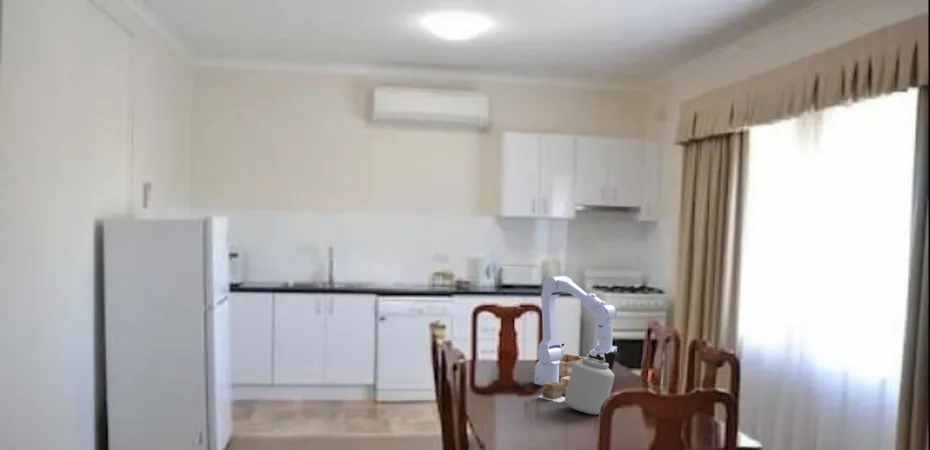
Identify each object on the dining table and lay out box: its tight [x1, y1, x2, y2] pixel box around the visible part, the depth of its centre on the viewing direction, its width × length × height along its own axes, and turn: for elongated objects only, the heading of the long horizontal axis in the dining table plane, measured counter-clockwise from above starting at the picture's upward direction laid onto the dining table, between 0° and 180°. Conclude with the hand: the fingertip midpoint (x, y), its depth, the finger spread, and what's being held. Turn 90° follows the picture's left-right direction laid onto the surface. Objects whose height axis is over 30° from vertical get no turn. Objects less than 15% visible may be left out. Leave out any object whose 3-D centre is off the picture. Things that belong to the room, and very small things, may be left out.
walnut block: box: [542, 381, 563, 399], centre depth 278 cm, size 5×5×5 cm
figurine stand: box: [559, 353, 584, 378], centre depth 321 cm, size 12×16×6 cm
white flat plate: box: [537, 394, 565, 404], centre depth 278 cm, size 10×7×1 cm
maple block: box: [560, 376, 570, 395], centre depth 286 cm, size 4×4×6 cm
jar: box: [564, 341, 615, 416], centre depth 261 cm, size 19×15×25 cm
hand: (603, 372), depth 281 cm, fingers open, 7 cm apart
